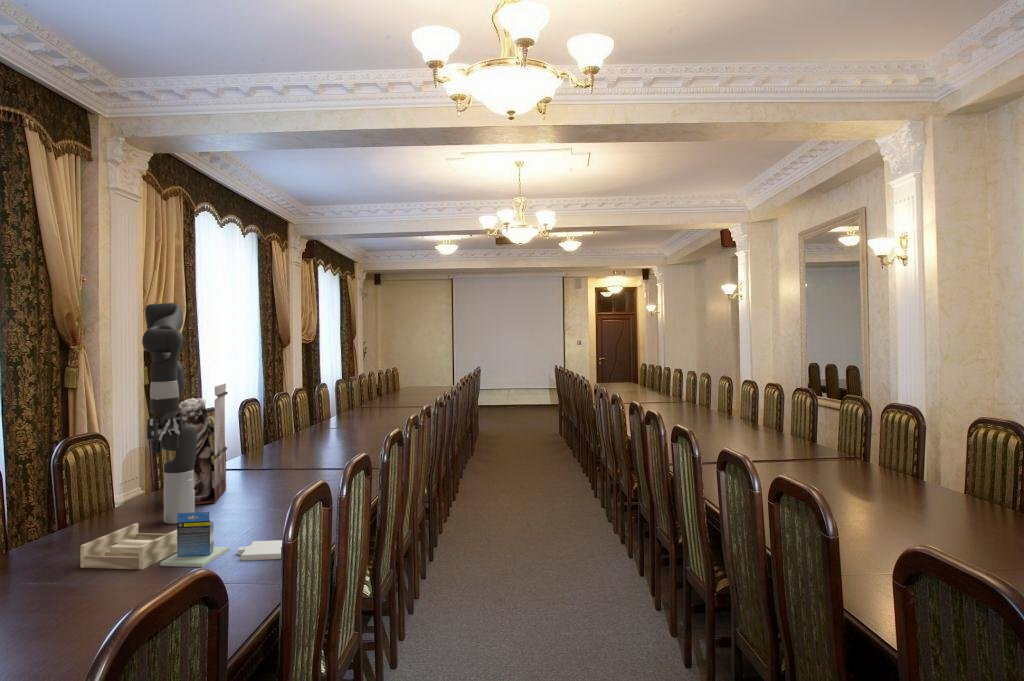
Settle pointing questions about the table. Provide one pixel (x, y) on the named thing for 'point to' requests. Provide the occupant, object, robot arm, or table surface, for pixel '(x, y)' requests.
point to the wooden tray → (147, 556)
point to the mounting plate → (261, 550)
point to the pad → (194, 559)
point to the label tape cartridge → (194, 534)
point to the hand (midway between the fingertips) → (166, 450)
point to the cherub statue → (207, 445)
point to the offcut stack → (127, 548)
